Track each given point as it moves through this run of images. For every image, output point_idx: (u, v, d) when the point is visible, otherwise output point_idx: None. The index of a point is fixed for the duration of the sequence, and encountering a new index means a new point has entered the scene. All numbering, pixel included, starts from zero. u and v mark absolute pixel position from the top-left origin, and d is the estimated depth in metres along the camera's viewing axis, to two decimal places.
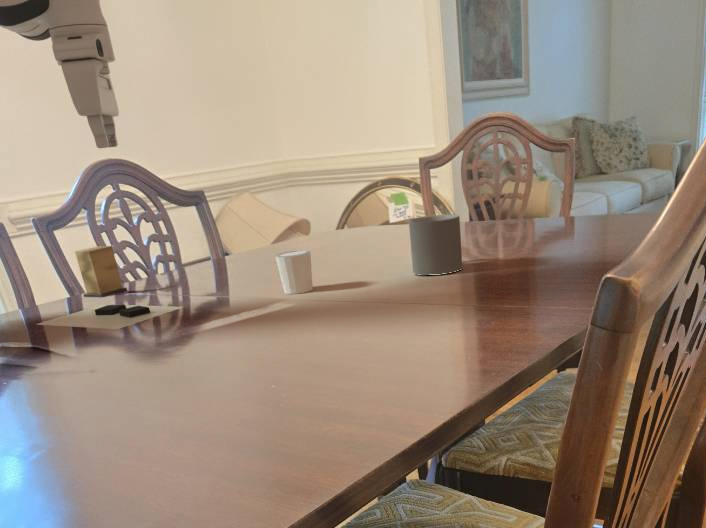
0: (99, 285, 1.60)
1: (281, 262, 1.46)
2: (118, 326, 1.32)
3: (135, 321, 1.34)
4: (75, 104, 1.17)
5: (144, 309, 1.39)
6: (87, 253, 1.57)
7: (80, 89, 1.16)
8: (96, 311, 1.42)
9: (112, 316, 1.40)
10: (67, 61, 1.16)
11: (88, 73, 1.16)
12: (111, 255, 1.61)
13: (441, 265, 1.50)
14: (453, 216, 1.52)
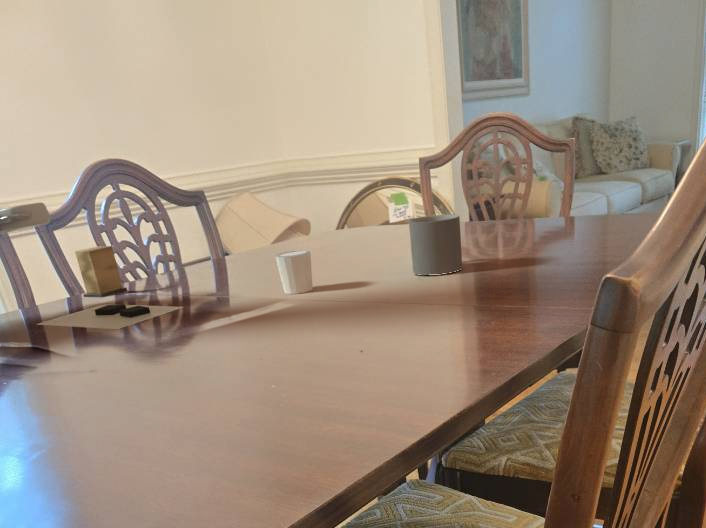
0: (99, 285, 1.60)
1: (281, 262, 1.46)
2: (118, 326, 1.32)
3: (135, 321, 1.34)
4: None
5: (144, 309, 1.39)
6: (87, 253, 1.57)
7: None
8: (96, 311, 1.42)
9: (112, 316, 1.40)
10: None
11: None
12: (111, 255, 1.61)
13: (441, 265, 1.50)
14: (453, 216, 1.52)
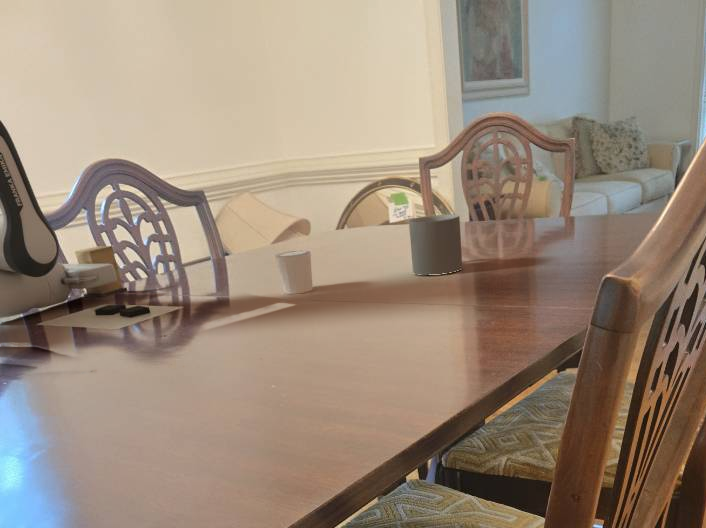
0: None
1: (281, 262, 1.46)
2: (118, 326, 1.32)
3: (135, 321, 1.34)
4: None
5: (144, 309, 1.39)
6: (87, 253, 1.57)
7: None
8: (96, 311, 1.42)
9: (112, 316, 1.40)
10: None
11: None
12: (111, 255, 1.61)
13: (441, 265, 1.50)
14: (453, 216, 1.52)
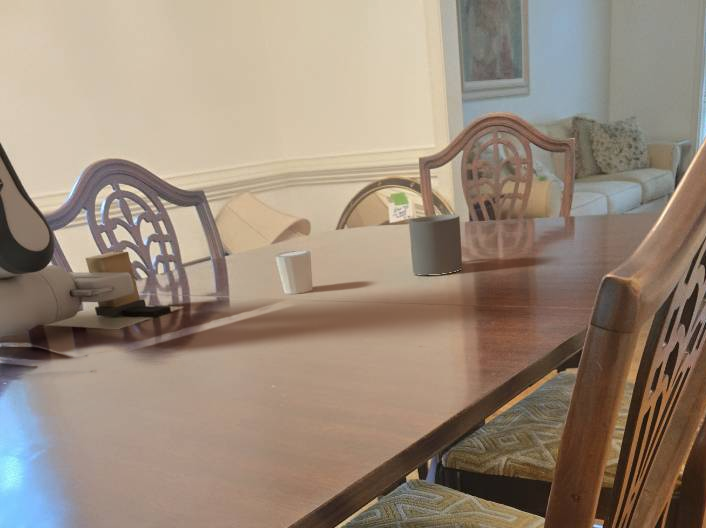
0: None
1: (281, 262, 1.46)
2: (118, 326, 1.32)
3: (135, 321, 1.34)
4: None
5: (166, 308, 1.38)
6: (99, 260, 1.35)
7: None
8: (123, 312, 1.39)
9: (112, 316, 1.40)
10: None
11: None
12: (127, 262, 1.39)
13: (441, 265, 1.50)
14: (453, 216, 1.52)
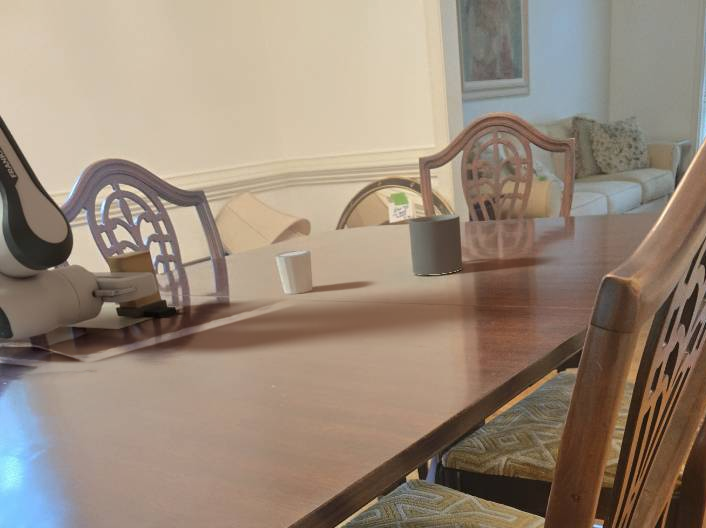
0: None
1: (281, 262, 1.46)
2: (118, 326, 1.32)
3: (135, 321, 1.34)
4: None
5: None
6: (121, 260, 1.32)
7: None
8: (145, 313, 1.36)
9: (112, 316, 1.40)
10: None
11: None
12: (149, 262, 1.36)
13: (441, 265, 1.50)
14: (453, 216, 1.52)
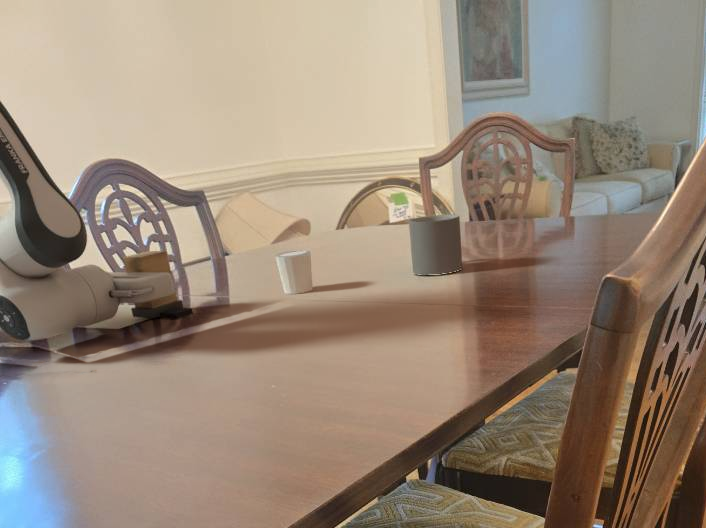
0: None
1: (281, 262, 1.46)
2: (118, 326, 1.32)
3: (135, 321, 1.34)
4: None
5: None
6: (137, 260, 1.30)
7: None
8: (161, 314, 1.34)
9: None
10: None
11: None
12: (165, 262, 1.34)
13: (441, 265, 1.50)
14: (453, 216, 1.52)
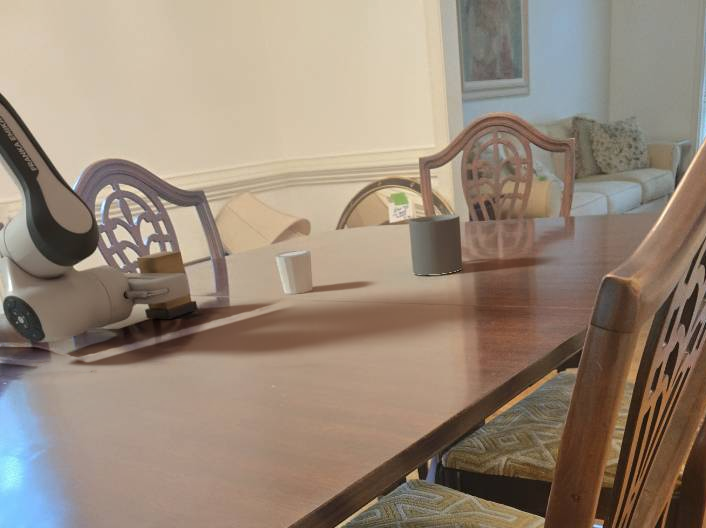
0: None
1: (281, 262, 1.46)
2: (118, 326, 1.32)
3: (135, 321, 1.34)
4: None
5: None
6: (152, 260, 1.29)
7: None
8: None
9: None
10: None
11: None
12: (179, 262, 1.33)
13: (441, 265, 1.50)
14: (453, 216, 1.52)
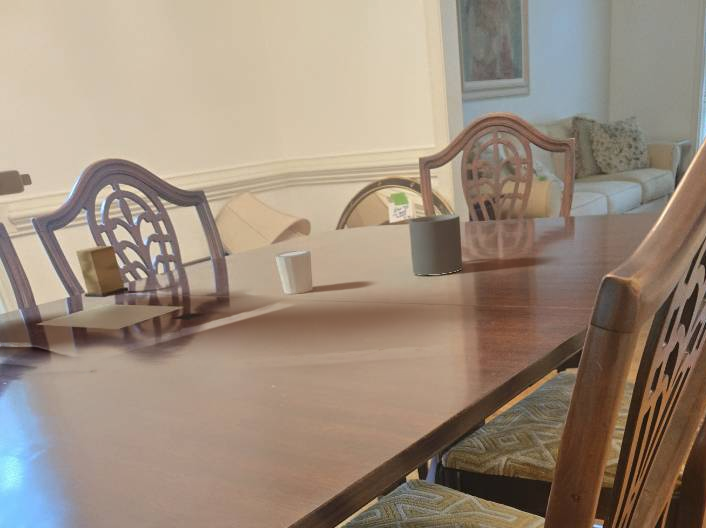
0: (100, 285, 1.60)
1: (281, 262, 1.46)
2: (118, 326, 1.32)
3: (135, 321, 1.34)
4: None
5: None
6: (88, 253, 1.57)
7: None
8: None
9: (112, 316, 1.40)
10: None
11: None
12: (112, 255, 1.61)
13: (441, 265, 1.50)
14: (453, 216, 1.52)
